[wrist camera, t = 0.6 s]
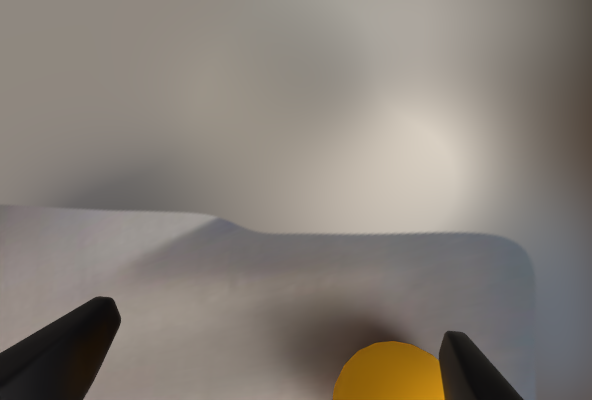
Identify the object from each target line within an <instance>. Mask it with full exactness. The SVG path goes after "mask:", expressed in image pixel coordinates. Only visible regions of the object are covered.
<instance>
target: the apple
mask: <svg viewBox="0 0 592 400" xmlns="http://www.w3.org/2000/svg"><path fill="white" fill-rule="evenodd" d="M333 400H445V398H444V391H443V384H442V378H441V371H440V364H439V361H438V360H437V359H436V358H435V357H434V356H433V355H431V354H429V353H427V352H426V351H424V350H422V349H420V348H418V347H416V346H414V345H412V344H407V343H402V342H396V341H388V342H378V343H374V344H372V345H370V346H367V347H365V348H363V349H361V350H359V351H358V352H357V353H356V354H354V355H353V356H352V357H351V358H350V359H349V360H348V361H347V362H346V364H345V365H344V367H343V369H342V371H341V373H340V375H339V377H338V379H337V381H336V383H335V387H334V392H333Z"/></svg>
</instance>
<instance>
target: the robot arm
mask: <svg viewBox="0 0 592 400" xmlns="http://www.w3.org/2000/svg"><path fill="white" fill-rule="evenodd" d="M120 323H121V316H120V314H119V311H118V309H117V306H116V304H115V301H114V300H113V299H112V298H110V297H102V296H99V297H95V298H93V299H92V300H90V301H88V302H86V303H85V304H83V305H81V306H80V307H78V308H76V309H75V310H73V311H71V312H69V313H68V314H66V315H64V316H63V317H61V318H59V319H58V320H56V321H54V322H52V323H51V324H49V325H47V326H46V327H44V328H42V329H41V330H39V331H37V332H35V333H34V334H32V335H30V336H29V337H27V338H25V339H24V340H22V341H20V342H18V343H17V344H15V345H13V346H12V347H10V348H8V349H7V350H5V351H3V352H1V353H0V400H83V399H84V397H85V395H86V393H87V392H88V390H89V388H90V387H91V385H92V383H93V381H94V379H95V377H96V375H97V373H98V371H99V369H100V367H101V365H102V363H103V361H104V359H105V356H106V354H107V352H108V350H109V348H110V346H111V344H112V341H113V339H114V337H115V335H116V333H117V331H118V329H119V326H120ZM439 364H440V371H441V378H442V384H443V391H444V398H445V400H523V398H522V397H521V396H520V395H519V394H518V393H517V392H516V390H515V389H514V388H513V387H512V386H511V385H510V384H509V383H508V381H507V380H506V379H505V378H504V377H503V376H502V375H501V374H500V372H499V371H498V370H497V369H496V368H495V367H494V366H493V364H492V363H491V362H490V361H489V360H488V359H487V358H486V357H485V355H484V354H483V353H482V352H481V351H480V350H479V349H478V347H477V346H476V345H475V344H474V343H473V342H472V341H471V340H470V338H469V337H468V336H467V335H466V334H464V333H463V332H456V331H447V332H446V333H445V334H444V338H443V341H442V344H441V347H440V351H439Z"/></svg>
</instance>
